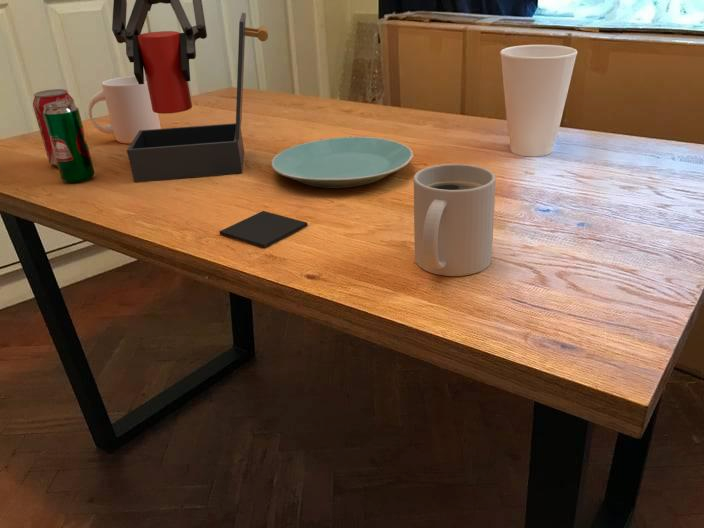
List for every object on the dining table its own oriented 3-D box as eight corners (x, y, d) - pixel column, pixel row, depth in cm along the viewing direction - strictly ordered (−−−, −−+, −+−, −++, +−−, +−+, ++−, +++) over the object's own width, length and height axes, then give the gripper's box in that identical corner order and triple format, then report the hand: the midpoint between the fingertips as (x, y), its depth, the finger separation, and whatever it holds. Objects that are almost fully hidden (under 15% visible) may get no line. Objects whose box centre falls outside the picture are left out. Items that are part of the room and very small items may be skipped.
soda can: (55, 181, 106) (33, 105, 100) (83, 171, 109) (64, 98, 103) (74, 186, 103) (53, 109, 97) (102, 176, 107) (83, 101, 101)
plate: (244, 176, 105) (242, 158, 103) (347, 143, 118) (346, 128, 117) (337, 210, 91) (336, 190, 89) (442, 169, 104) (442, 151, 103)
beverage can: (49, 161, 115) (29, 91, 109) (87, 155, 117) (69, 86, 112) (51, 171, 110) (30, 98, 104) (91, 164, 112) (72, 93, 107)
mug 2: (463, 236, 81) (465, 158, 77) (511, 266, 74) (516, 181, 69) (385, 257, 77) (382, 176, 72) (428, 291, 70) (428, 202, 65)
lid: (239, 21, 95) (268, 25, 96) (242, 12, 105) (268, 16, 106) (235, 139, 103) (262, 141, 104) (238, 120, 113) (262, 123, 114)
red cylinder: (158, 115, 99) (142, 38, 94) (148, 108, 104) (133, 34, 99) (197, 109, 102) (184, 34, 97) (186, 102, 107) (173, 29, 101)
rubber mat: (219, 234, 85) (219, 231, 84) (263, 214, 90) (263, 210, 90) (264, 248, 80) (264, 244, 80) (307, 225, 86) (307, 222, 86)
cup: (532, 136, 118) (539, 42, 110) (583, 151, 109) (594, 50, 101) (481, 148, 113) (484, 50, 105) (529, 166, 104) (537, 60, 96)
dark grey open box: (134, 182, 104) (126, 150, 101) (145, 160, 114) (139, 130, 111) (242, 173, 106) (237, 141, 103) (244, 152, 116) (240, 122, 113)
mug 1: (96, 137, 128) (82, 80, 122) (160, 129, 131) (149, 74, 126) (96, 149, 121) (80, 89, 115) (163, 140, 124) (152, 82, 119)
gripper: (221, -35, 108) (231, 87, 102) (101, -30, 106) (103, 96, 100) (214, -72, 101) (224, 57, 95) (85, -67, 99) (86, 66, 93)
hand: (162, 77), depth 97 cm, fingers closed on red cylinder, 6 cm apart
